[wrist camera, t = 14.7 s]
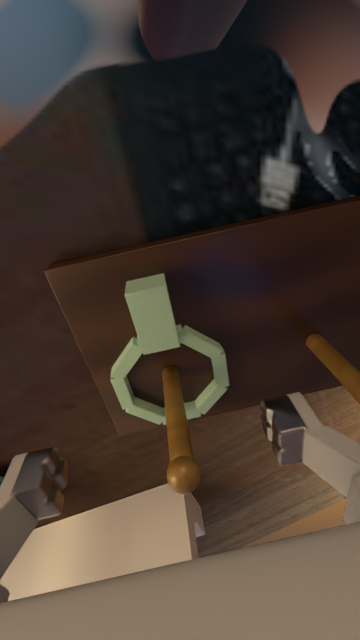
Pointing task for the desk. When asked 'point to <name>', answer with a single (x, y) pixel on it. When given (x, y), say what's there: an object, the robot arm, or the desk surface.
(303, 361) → the peg rack
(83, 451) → the desk surface
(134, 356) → the hanging tag
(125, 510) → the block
